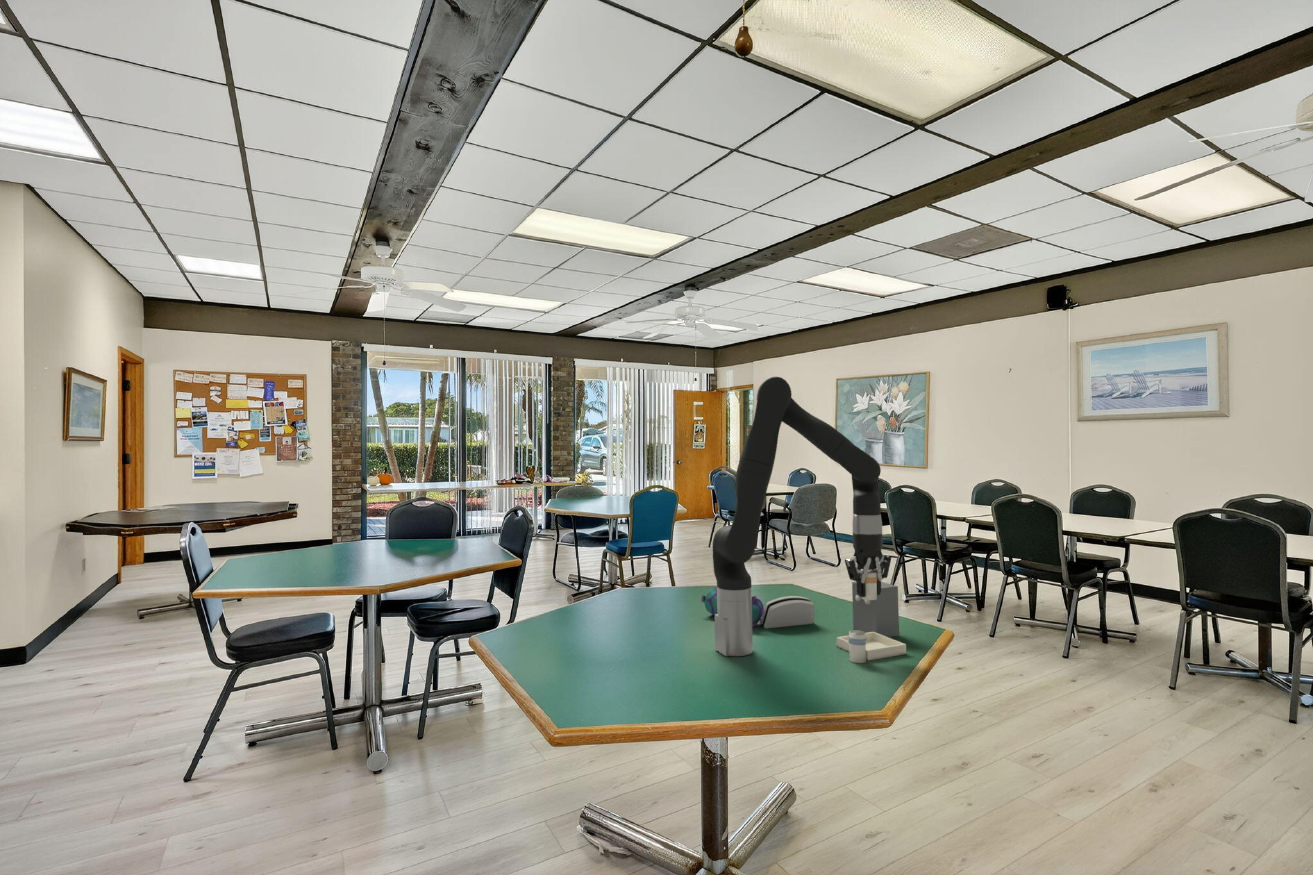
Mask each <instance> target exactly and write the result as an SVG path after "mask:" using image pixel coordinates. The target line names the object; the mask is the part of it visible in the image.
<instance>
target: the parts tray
mask: <svg viewBox="0 0 1313 875" xmlns="http://www.w3.org/2000/svg"><path fill="white" fill-rule="evenodd" d="M836 647H837V648H838V649H841V650H843V651H846V652H848V653H849V634H848V635H844V636H843V635H842V636H837V637H836ZM903 655H907V644H906V643H904V642H901V641H899V640H896V639H893V638H892V637H886V636H883V635H881V634H878V633H875V632H868V633H866V662H867V661H874V660H880V659H886V658H892V657H898V656H903Z"/></svg>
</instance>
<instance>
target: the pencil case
mask: <svg viewBox="0 0 1313 875" xmlns="http://www.w3.org/2000/svg"><path fill="white" fill-rule="evenodd" d="M700 600H701V602H702V603H704V607H705V610H706V611H707V612H708V613H710V614H711V615H713V616H715V614H718V610H717V585H716V586H714V587H712V588H711V589H709V590H708V592H707V593H706V594H705V595H701V599H700ZM764 609H765V606H764V603H763V601H762V600H761V599H760V598H758V597H757V595H754V596H753V595H752V628H753V627H755V626H756V625H758V624H759V623H760V619H762V616H763V612H764Z"/></svg>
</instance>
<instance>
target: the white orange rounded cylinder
mask: <svg viewBox="0 0 1313 875" xmlns="http://www.w3.org/2000/svg"><path fill="white" fill-rule="evenodd" d="M860 578H861V577H860ZM864 583H865V588H866V596H865V597H861V598H862V599H865V600H876V599H877V576H876V572H874V571H869V570H868V574H867V575H866V578H865V582H864Z"/></svg>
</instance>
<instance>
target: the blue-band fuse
mask: <svg viewBox="0 0 1313 875" xmlns="http://www.w3.org/2000/svg"><path fill="white" fill-rule="evenodd" d="M848 635H849V652H848V654H849V656H848V657H849V661H850V662H852V663H856V664H864V663H866V662H867V660H866V633H865V632H863V631H858V630H849V631H848Z"/></svg>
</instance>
